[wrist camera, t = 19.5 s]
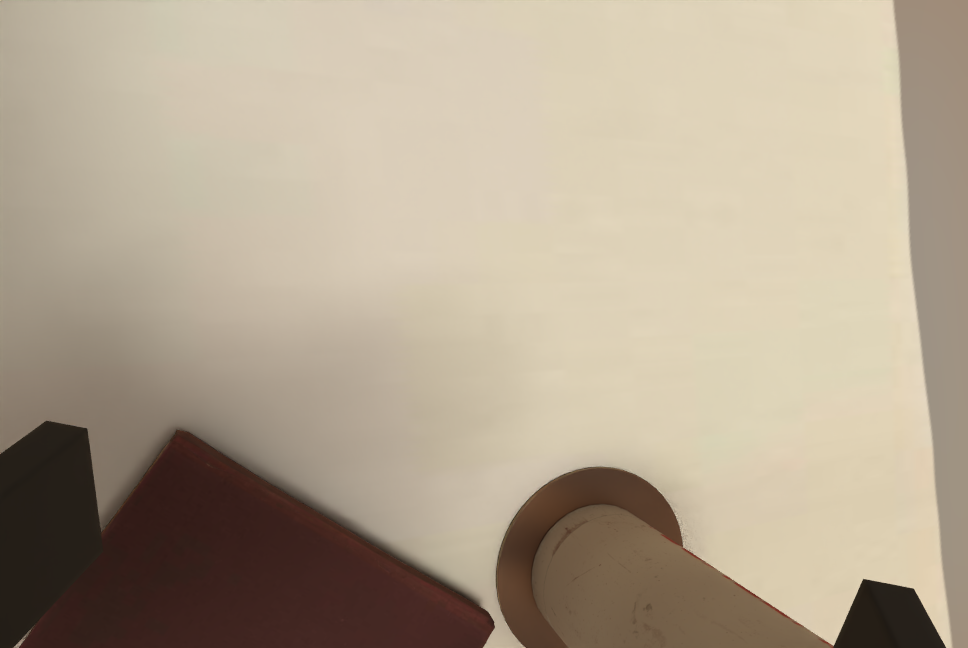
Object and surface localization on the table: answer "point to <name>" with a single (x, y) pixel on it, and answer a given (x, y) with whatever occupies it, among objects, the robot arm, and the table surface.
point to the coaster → (543, 515)
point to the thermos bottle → (646, 591)
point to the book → (245, 573)
